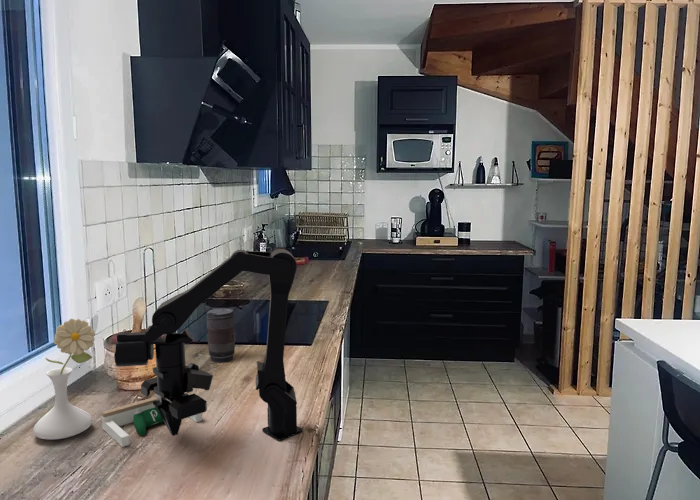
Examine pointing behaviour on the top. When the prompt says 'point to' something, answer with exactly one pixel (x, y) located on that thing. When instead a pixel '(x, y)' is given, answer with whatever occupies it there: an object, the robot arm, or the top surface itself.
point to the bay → (127, 419)
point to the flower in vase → (64, 415)
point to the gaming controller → (146, 419)
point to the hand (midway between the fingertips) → (174, 434)
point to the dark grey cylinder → (221, 334)
